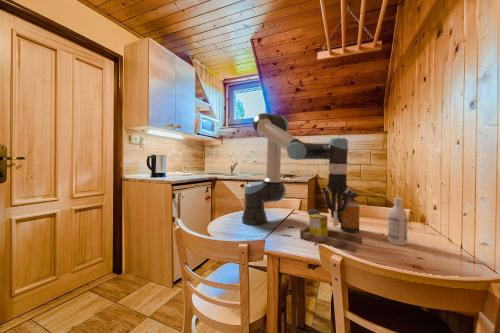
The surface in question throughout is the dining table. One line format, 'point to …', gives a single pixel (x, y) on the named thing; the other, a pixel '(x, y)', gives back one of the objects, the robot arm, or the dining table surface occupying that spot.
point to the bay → (331, 233)
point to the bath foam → (397, 224)
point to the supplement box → (318, 224)
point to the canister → (350, 214)
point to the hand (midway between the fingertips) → (335, 225)
